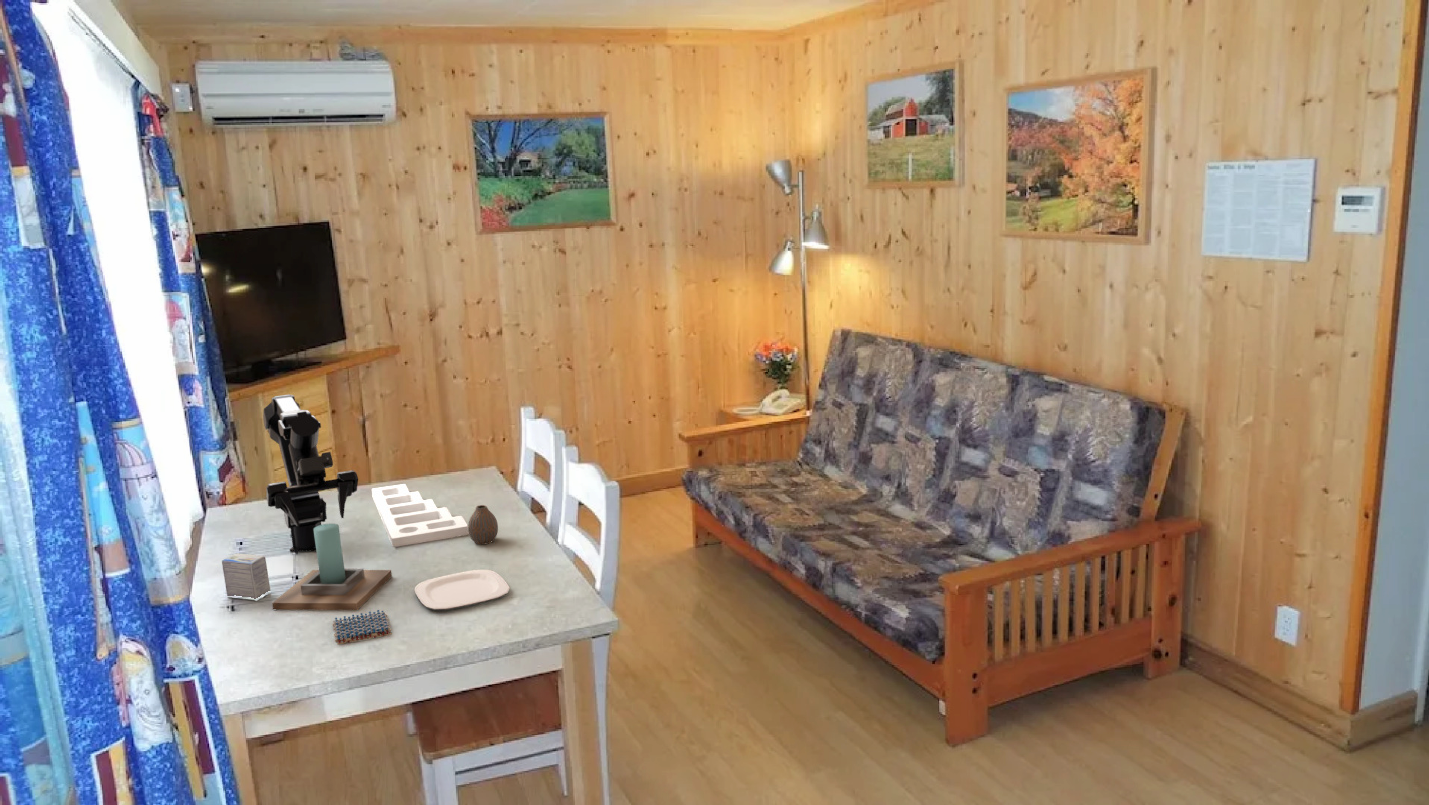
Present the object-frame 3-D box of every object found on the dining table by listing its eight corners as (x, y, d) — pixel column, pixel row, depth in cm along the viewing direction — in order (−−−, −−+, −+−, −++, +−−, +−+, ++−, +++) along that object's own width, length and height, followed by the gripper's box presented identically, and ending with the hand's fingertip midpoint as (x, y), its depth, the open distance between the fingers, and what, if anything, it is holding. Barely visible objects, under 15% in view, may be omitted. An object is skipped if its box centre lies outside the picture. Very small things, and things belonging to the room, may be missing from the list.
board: (273, 609, 216) (270, 593, 215) (313, 576, 234) (311, 561, 233) (357, 610, 214) (355, 594, 214) (391, 576, 232) (390, 561, 231)
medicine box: (271, 593, 225) (266, 555, 223) (256, 602, 221) (251, 563, 219) (242, 590, 227) (236, 552, 225) (226, 598, 223) (220, 559, 221)
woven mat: (335, 648, 199) (334, 638, 198) (332, 627, 208) (331, 617, 208) (392, 637, 202) (391, 628, 202) (387, 617, 212) (386, 607, 212)
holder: (372, 498, 291) (371, 488, 290) (438, 488, 298) (437, 479, 297) (392, 549, 250) (391, 538, 250) (469, 536, 257) (468, 526, 257)
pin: (316, 587, 223) (308, 528, 221) (337, 579, 227) (330, 522, 224) (329, 591, 220) (321, 532, 218) (350, 584, 224) (343, 526, 221)
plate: (429, 620, 209) (428, 612, 209) (409, 590, 225) (408, 582, 225) (517, 600, 218) (516, 592, 217) (492, 572, 233) (491, 565, 233)
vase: (492, 547, 248) (489, 511, 246) (464, 546, 249) (461, 510, 247) (503, 537, 254) (500, 502, 252) (476, 536, 256) (473, 501, 254)
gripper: (261, 448, 224) (274, 511, 217) (351, 435, 233) (367, 495, 226) (261, 475, 233) (274, 536, 226) (348, 461, 242) (363, 520, 235)
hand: (320, 521), depth 228 cm, fingers open, 9 cm apart
